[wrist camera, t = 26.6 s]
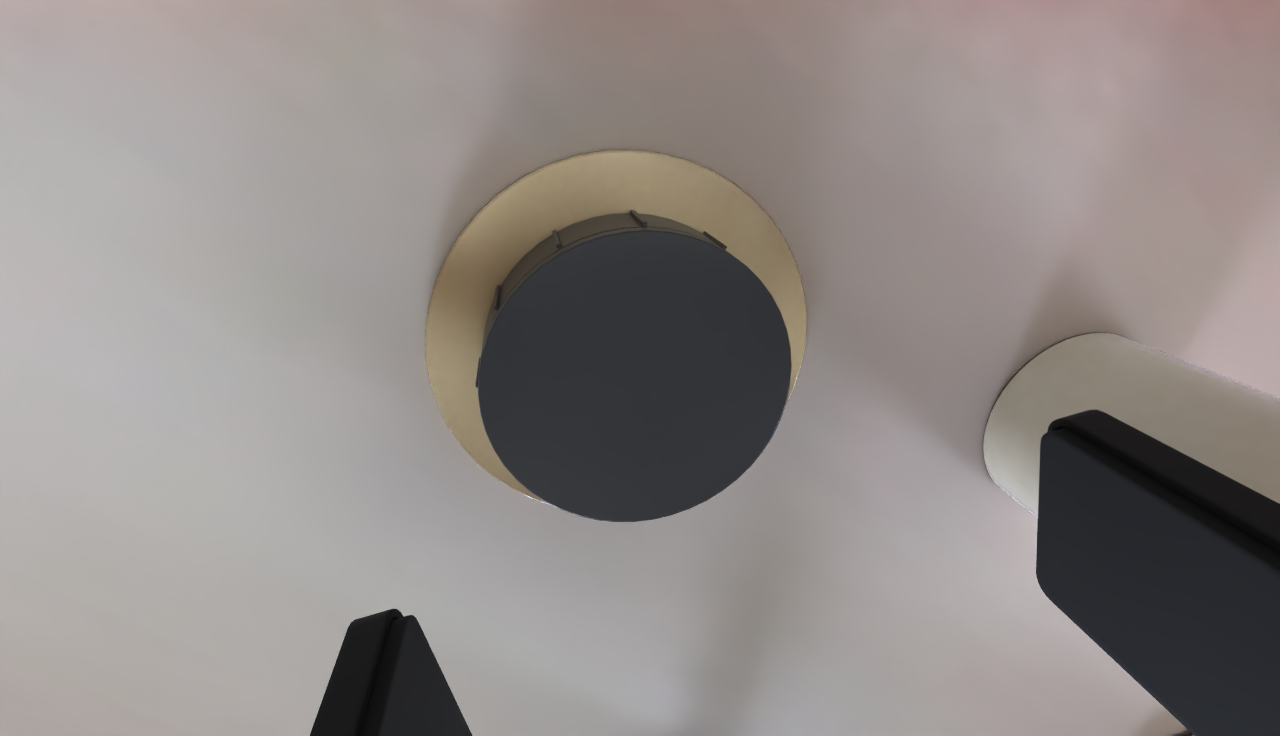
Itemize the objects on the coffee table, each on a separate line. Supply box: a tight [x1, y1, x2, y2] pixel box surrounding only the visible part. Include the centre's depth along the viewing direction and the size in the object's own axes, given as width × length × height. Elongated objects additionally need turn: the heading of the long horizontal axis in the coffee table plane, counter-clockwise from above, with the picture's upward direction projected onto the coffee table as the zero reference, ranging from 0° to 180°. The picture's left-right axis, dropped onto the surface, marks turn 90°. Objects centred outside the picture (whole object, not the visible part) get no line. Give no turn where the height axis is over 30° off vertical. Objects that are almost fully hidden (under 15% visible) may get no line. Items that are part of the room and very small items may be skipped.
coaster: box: [425, 150, 807, 505], centre depth 17 cm, size 10×10×1 cm
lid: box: [475, 210, 792, 522], centre depth 16 cm, size 7×7×2 cm
